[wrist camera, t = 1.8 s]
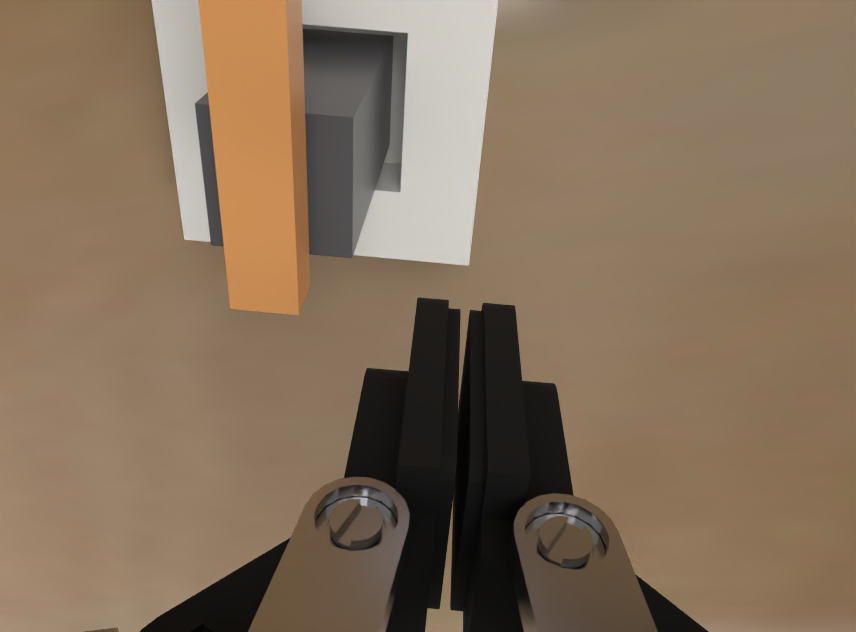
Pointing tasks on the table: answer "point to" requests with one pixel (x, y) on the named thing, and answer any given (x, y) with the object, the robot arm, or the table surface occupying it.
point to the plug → (330, 136)
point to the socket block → (409, 128)
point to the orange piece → (259, 148)
